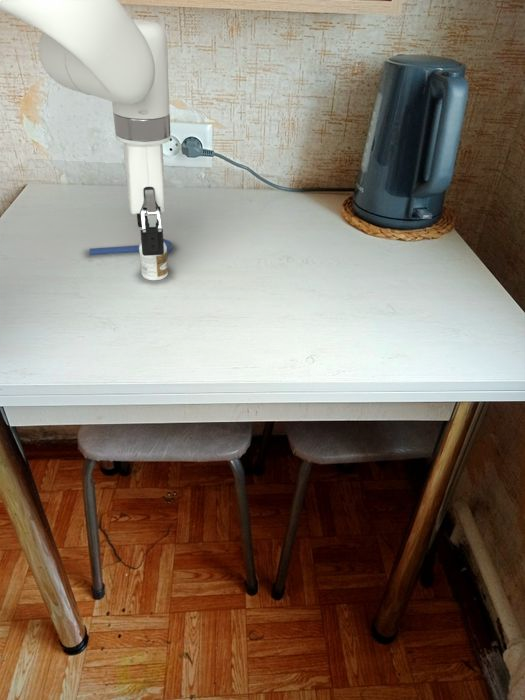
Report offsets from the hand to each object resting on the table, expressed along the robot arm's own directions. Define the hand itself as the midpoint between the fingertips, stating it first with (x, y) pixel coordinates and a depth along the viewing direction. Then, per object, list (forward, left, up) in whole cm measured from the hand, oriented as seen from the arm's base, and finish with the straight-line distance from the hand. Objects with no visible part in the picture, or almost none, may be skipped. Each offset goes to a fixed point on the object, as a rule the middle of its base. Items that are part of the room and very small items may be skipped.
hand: (150, 239), depth 81 cm
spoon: (-7, +6, -7) cm, 11 cm away
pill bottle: (0, 0, -7) cm, 7 cm away
